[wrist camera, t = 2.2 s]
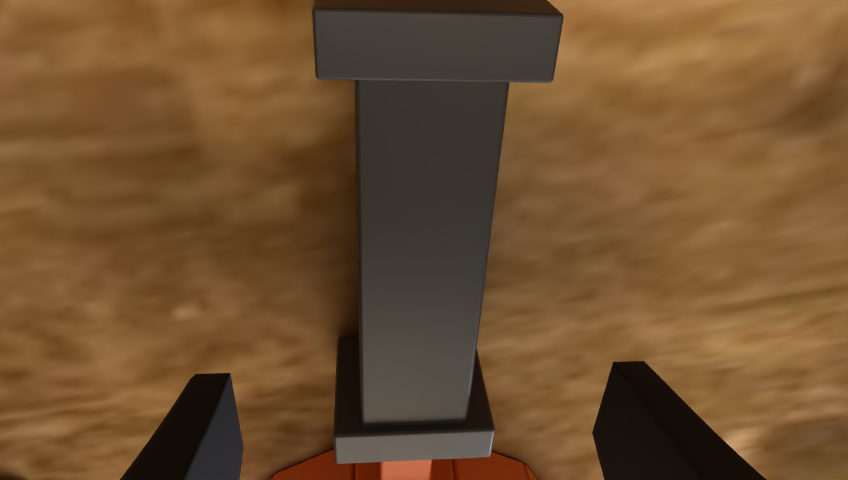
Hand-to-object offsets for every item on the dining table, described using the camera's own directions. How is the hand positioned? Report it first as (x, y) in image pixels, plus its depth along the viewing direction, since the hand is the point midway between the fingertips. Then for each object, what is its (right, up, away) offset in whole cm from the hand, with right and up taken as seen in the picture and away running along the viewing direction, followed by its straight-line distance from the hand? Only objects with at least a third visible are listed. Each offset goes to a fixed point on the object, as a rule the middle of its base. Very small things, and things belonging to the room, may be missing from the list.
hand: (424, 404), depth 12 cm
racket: (-1, -2, +6) cm, 6 cm away
